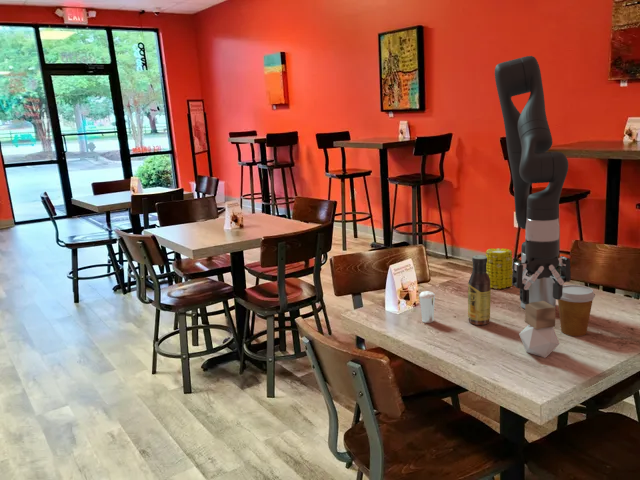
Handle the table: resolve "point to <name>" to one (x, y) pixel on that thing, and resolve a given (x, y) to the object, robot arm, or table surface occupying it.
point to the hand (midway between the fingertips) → (540, 301)
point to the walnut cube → (540, 314)
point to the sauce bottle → (479, 292)
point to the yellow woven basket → (499, 267)
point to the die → (539, 340)
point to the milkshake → (427, 306)
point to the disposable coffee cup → (575, 309)
